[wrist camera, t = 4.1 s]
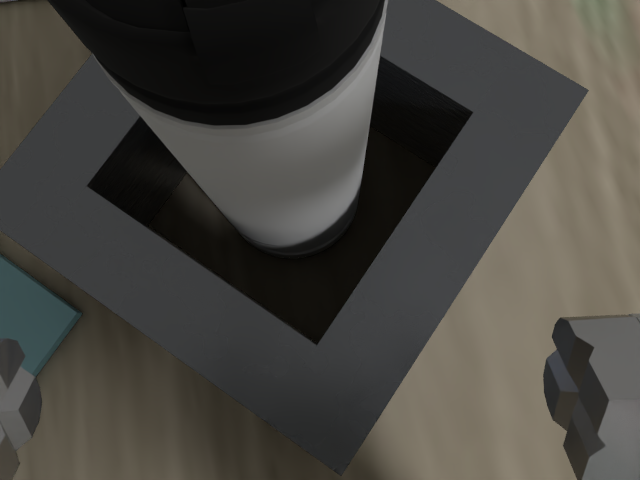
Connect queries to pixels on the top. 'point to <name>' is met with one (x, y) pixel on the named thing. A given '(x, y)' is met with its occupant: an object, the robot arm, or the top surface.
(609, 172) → the top surface
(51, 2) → the travel mug
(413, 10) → the square collar
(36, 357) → the rubber mat
